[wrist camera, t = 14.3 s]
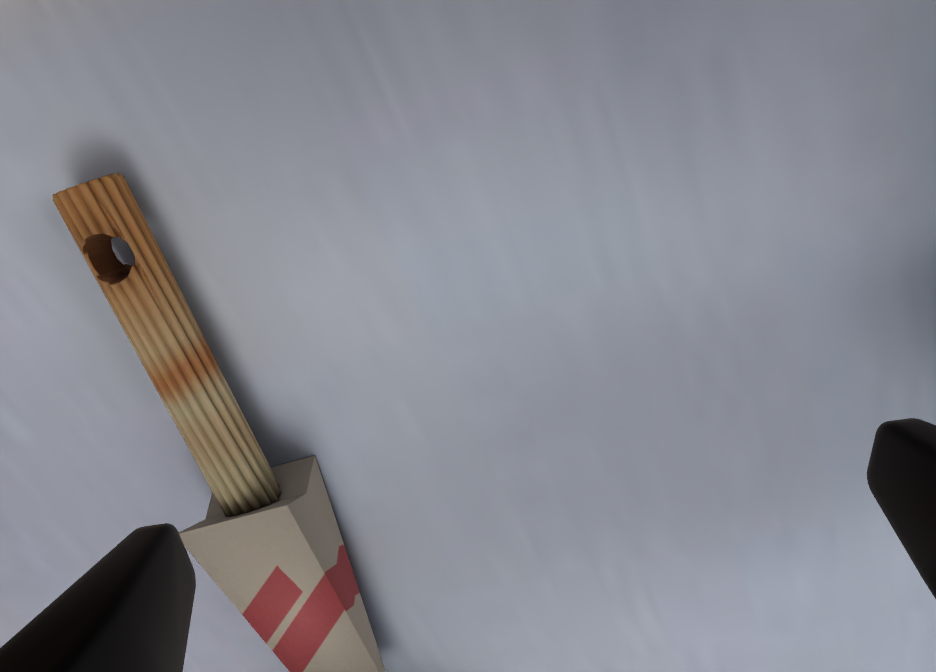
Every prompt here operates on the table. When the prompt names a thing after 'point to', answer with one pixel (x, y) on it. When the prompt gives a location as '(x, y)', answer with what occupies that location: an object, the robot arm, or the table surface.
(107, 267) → the paintbrush
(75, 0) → the table surface
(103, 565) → the robot arm
